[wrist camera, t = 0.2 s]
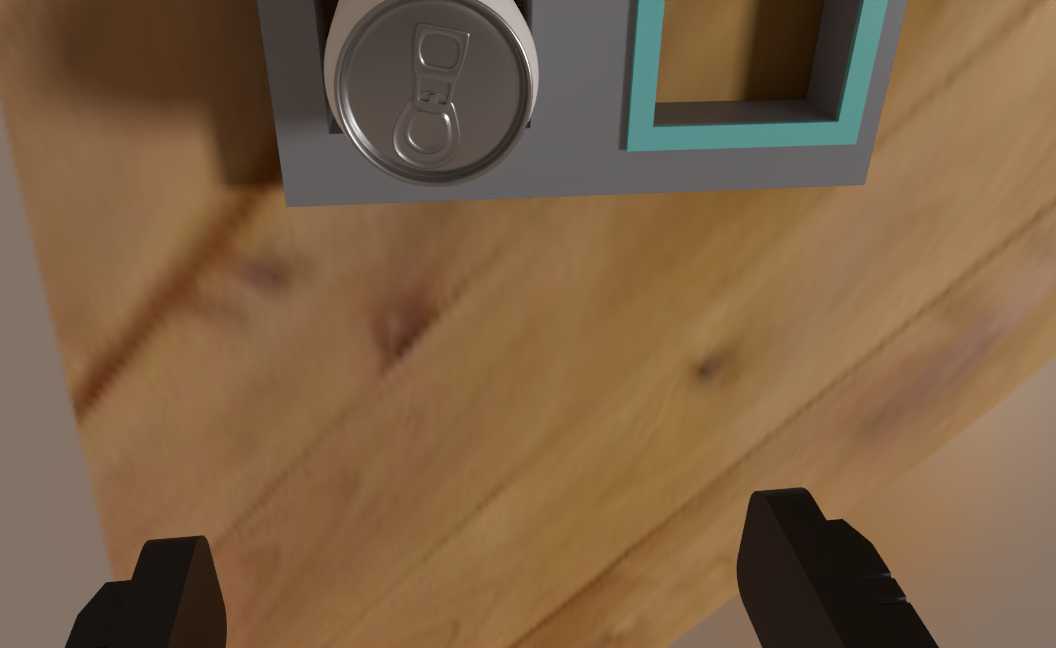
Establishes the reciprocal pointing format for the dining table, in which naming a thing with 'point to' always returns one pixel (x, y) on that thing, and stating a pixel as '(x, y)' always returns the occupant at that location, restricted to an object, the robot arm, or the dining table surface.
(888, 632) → the robot arm
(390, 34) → the can
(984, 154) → the dining table surface
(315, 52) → the dock panel
